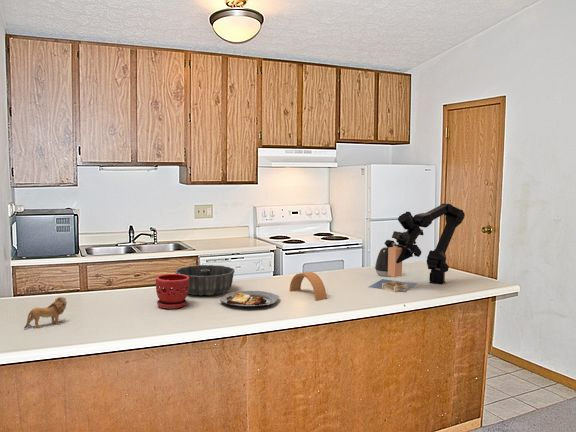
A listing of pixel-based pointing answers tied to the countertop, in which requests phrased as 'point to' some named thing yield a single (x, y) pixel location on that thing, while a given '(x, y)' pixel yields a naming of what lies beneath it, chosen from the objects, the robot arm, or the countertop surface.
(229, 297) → the food plate
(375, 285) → the board
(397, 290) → the maple socket block
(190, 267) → the bundt pan
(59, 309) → the lion figurine
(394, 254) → the terracotta column
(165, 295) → the plant pot
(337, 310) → the countertop surface
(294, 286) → the arch
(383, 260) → the black tapered dome
